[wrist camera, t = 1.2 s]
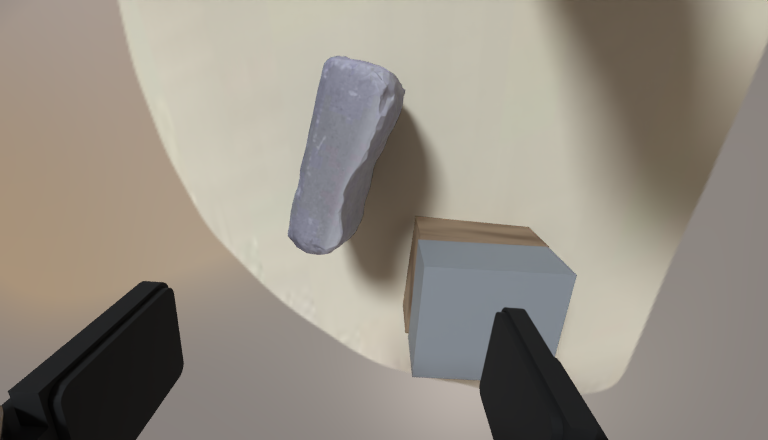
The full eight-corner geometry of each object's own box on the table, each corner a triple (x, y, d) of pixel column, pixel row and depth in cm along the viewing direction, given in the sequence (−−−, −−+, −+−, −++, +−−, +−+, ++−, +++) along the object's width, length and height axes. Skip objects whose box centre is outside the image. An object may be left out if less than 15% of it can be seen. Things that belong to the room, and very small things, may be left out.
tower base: (415, 214, 32) (420, 234, 28) (527, 226, 33) (549, 246, 28) (402, 303, 35) (405, 333, 31) (505, 312, 36) (522, 343, 31)
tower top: (418, 239, 28) (424, 266, 24) (547, 246, 28) (576, 274, 24) (408, 337, 31) (412, 376, 27) (525, 343, 31) (547, 383, 27)
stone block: (344, 57, 28) (325, 43, 18) (405, 79, 28) (416, 76, 19) (305, 202, 31) (271, 251, 22) (359, 218, 32) (349, 274, 23)
